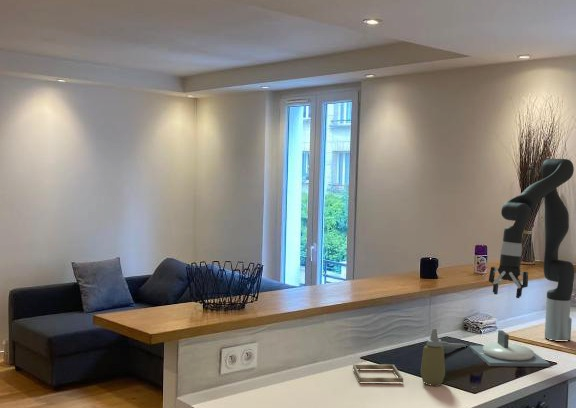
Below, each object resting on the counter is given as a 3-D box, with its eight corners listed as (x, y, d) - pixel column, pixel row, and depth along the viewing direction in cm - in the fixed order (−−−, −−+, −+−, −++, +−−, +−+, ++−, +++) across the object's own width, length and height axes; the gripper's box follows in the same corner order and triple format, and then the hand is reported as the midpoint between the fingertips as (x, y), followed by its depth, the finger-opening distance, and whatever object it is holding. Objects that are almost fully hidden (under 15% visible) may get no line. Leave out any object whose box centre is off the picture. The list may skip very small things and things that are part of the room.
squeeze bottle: (414, 380, 217) (417, 326, 216) (435, 378, 220) (438, 325, 219) (428, 388, 209) (430, 333, 208) (450, 386, 212) (452, 331, 211)
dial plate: (524, 349, 258) (524, 345, 258) (549, 366, 236) (549, 362, 236) (469, 348, 257) (469, 345, 257) (489, 366, 235) (489, 362, 235)
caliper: (436, 356, 246) (437, 339, 246) (434, 355, 247) (434, 339, 247) (467, 347, 260) (468, 331, 259) (465, 346, 261) (466, 331, 260)
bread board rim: (393, 370, 227) (393, 364, 227) (403, 384, 213) (403, 378, 213) (352, 370, 226) (353, 364, 226) (359, 383, 212) (359, 377, 212)
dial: (541, 360, 238) (542, 343, 238) (493, 360, 237) (493, 342, 237) (520, 345, 257) (520, 329, 257) (474, 345, 256) (475, 328, 256)
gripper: (532, 256, 252) (528, 298, 252) (495, 251, 260) (491, 292, 261) (527, 256, 246) (522, 300, 246) (489, 251, 254) (485, 293, 255)
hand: (506, 296), depth 253 cm, fingers open, 8 cm apart
